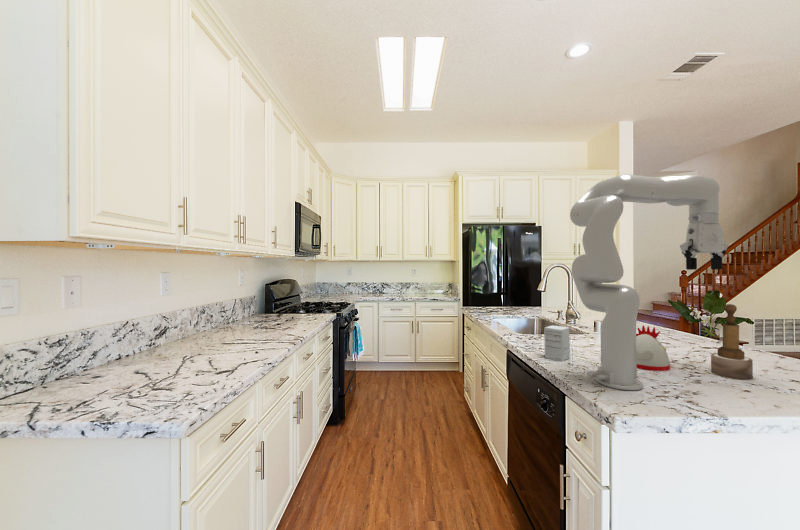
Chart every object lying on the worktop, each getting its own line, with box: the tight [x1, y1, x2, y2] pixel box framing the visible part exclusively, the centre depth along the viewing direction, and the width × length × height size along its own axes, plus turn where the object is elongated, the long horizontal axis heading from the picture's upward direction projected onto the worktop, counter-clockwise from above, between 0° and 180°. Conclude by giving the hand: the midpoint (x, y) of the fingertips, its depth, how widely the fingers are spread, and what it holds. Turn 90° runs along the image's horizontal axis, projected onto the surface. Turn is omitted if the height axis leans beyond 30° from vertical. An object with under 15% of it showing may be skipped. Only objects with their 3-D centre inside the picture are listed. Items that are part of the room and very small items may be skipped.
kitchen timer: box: [636, 325, 671, 372], centre depth 123 cm, size 14×14×15 cm
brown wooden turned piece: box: [717, 303, 745, 360], centre depth 112 cm, size 7×6×18 cm
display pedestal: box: [710, 352, 754, 381], centre depth 112 cm, size 10×10×6 cm
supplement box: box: [543, 324, 571, 362], centre depth 134 cm, size 7×7×13 cm
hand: (704, 269), depth 113 cm, fingers open, 9 cm apart
